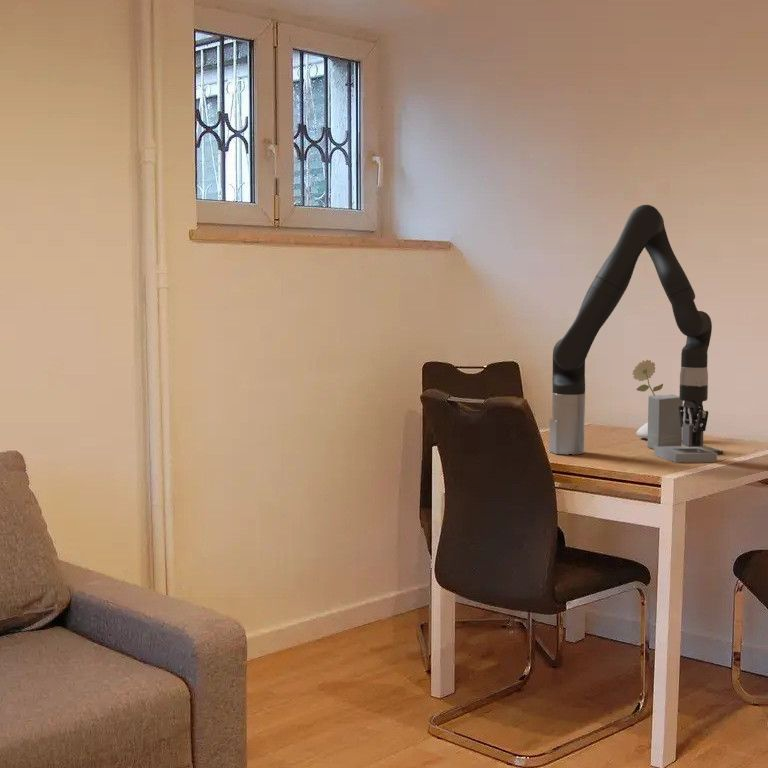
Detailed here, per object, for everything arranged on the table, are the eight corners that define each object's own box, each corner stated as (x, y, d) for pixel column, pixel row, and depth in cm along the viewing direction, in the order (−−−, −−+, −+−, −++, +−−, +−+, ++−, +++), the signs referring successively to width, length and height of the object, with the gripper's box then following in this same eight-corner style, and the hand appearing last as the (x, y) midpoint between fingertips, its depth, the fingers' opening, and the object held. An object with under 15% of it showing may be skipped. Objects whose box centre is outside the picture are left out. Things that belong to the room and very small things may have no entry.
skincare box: (670, 446, 335) (671, 393, 333) (683, 449, 328) (685, 396, 326) (645, 447, 332) (646, 394, 331) (658, 451, 325) (659, 397, 324)
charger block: (688, 447, 308) (689, 425, 307) (682, 444, 312) (682, 423, 311) (703, 446, 308) (703, 424, 308) (696, 444, 312) (696, 422, 312)
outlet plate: (675, 462, 304) (676, 453, 304) (654, 455, 318) (654, 446, 317) (716, 461, 306) (717, 452, 306) (693, 454, 320) (693, 445, 320)
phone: (723, 454, 319) (723, 450, 319) (703, 454, 318) (703, 451, 318) (703, 448, 331) (703, 444, 331) (684, 448, 330) (684, 445, 330)
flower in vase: (668, 436, 356) (670, 358, 354) (677, 441, 345) (679, 361, 342) (627, 436, 356) (629, 358, 354) (635, 441, 345) (636, 360, 343)
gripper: (669, 381, 315) (668, 441, 316) (692, 385, 301) (691, 448, 302) (694, 380, 316) (693, 440, 318) (718, 385, 302) (717, 448, 304)
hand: (692, 444), depth 310 cm, fingers closed on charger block, 4 cm apart
